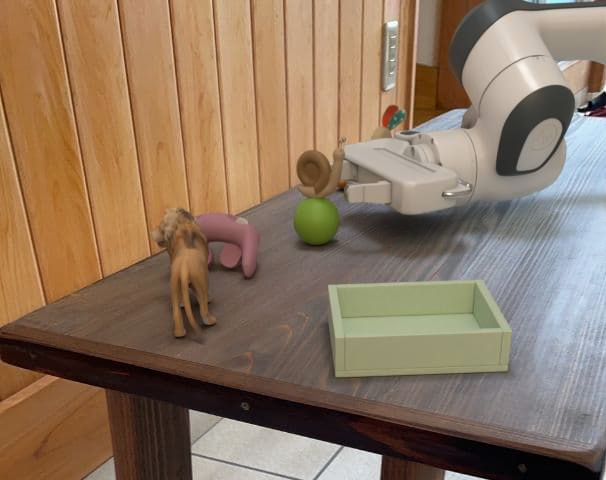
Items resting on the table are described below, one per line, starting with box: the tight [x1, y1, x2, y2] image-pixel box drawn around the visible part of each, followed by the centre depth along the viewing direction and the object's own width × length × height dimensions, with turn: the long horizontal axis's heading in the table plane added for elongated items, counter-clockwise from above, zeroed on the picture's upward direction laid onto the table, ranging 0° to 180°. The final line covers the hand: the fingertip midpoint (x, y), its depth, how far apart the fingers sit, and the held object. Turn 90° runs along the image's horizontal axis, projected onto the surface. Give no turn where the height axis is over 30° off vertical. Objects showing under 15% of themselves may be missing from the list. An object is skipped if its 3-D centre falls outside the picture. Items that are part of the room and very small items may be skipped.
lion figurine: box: [149, 206, 217, 339], centre depth 82 cm, size 15×5×9 cm, turn 15°
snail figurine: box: [293, 136, 347, 246], centre depth 98 cm, size 5×6×12 cm
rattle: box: [337, 104, 408, 190], centre depth 118 cm, size 8×8×12 cm
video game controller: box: [168, 212, 261, 279], centre depth 94 cm, size 10×5×7 cm, turn 80°
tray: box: [327, 279, 513, 378], centre depth 76 cm, size 15×13×4 cm
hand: (329, 184), depth 98 cm, fingers open, 8 cm apart
